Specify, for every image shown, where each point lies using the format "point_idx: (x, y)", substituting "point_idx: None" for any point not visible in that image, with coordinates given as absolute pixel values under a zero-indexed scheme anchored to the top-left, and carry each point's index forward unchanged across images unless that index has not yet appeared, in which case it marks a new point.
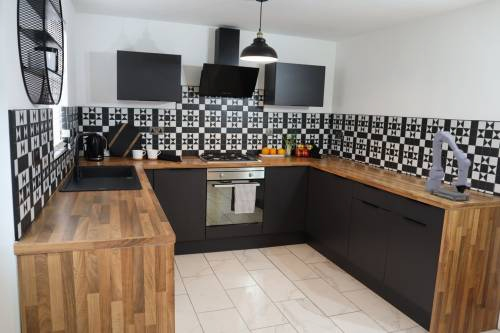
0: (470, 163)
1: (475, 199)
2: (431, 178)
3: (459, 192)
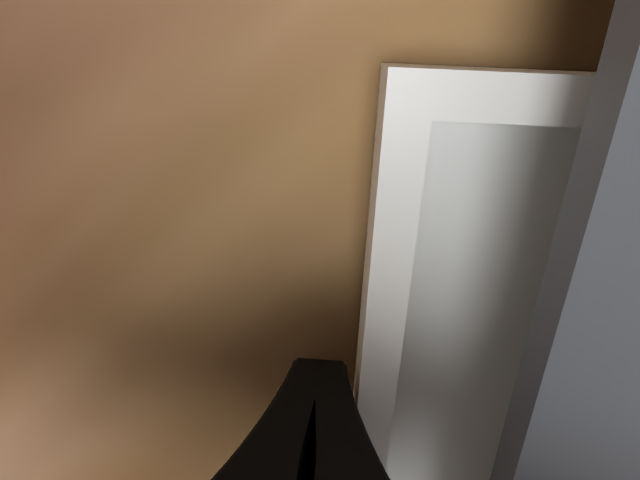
0: None
1: (39, 87)
2: None
3: (535, 417)
